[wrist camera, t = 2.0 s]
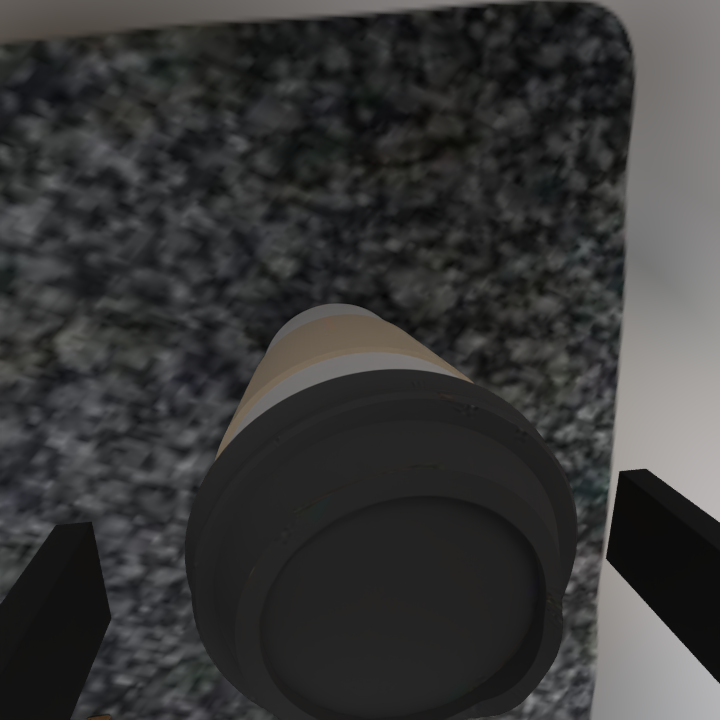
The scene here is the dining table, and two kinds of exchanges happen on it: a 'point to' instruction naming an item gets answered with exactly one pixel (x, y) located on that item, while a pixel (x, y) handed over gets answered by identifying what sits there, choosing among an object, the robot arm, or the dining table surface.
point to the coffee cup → (378, 533)
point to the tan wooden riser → (100, 717)
